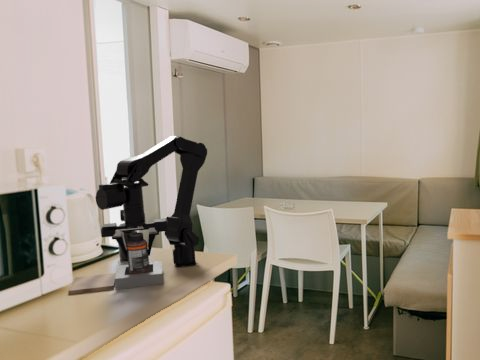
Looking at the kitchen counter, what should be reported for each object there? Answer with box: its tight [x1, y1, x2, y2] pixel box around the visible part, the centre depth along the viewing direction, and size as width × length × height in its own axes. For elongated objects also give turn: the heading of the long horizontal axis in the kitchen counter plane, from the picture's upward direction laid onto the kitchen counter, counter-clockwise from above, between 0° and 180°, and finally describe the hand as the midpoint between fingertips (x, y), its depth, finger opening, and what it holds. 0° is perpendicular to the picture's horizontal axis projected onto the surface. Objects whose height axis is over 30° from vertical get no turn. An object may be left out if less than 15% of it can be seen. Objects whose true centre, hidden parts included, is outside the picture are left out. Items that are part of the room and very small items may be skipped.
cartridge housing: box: [114, 260, 164, 290], centre depth 138 cm, size 13×13×3 cm
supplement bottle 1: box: [117, 222, 138, 262], centre depth 162 cm, size 7×7×12 cm
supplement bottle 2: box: [126, 231, 150, 274], centre depth 138 cm, size 6×6×11 cm
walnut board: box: [67, 272, 116, 295], centre depth 136 cm, size 12×12×1 cm
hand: (138, 256), depth 138 cm, fingers closed on supplement bottle 2, 6 cm apart
